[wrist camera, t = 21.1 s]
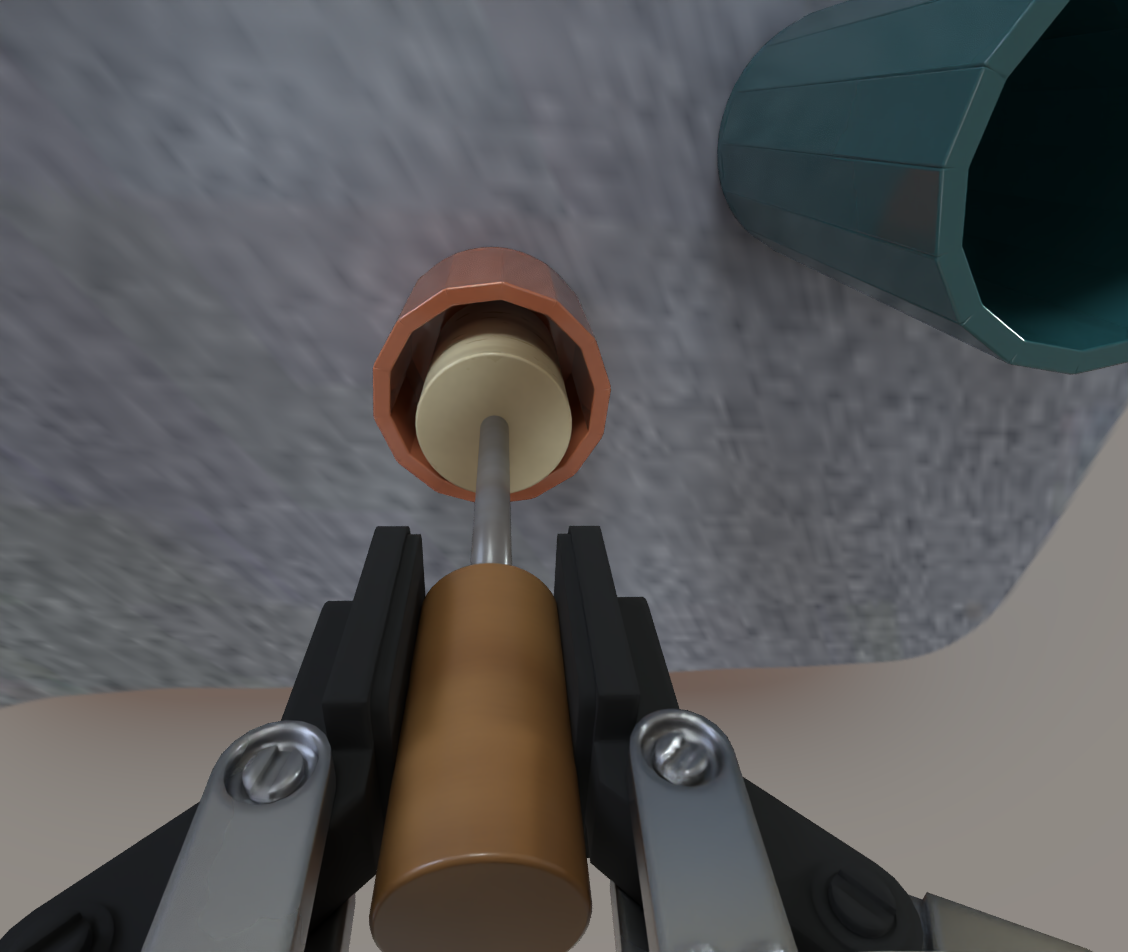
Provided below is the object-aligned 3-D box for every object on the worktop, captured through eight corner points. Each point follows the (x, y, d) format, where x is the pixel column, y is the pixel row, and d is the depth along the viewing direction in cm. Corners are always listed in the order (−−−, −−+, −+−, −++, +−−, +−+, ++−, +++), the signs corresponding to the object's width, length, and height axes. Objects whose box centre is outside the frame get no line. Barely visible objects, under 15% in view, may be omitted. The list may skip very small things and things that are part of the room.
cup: (673, 176, 23) (849, 235, 11) (820, -49, 20) (1247, -272, 8) (825, 291, 25) (1097, 436, 14) (974, 104, 22) (1468, 89, 11)
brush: (412, 379, 24) (204, 983, 7) (472, 274, 22) (384, 734, 6) (516, 436, 25) (546, 1050, 9) (580, 340, 24) (766, 866, 7)
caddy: (367, 374, 25) (332, 442, 20) (458, 204, 22) (444, 230, 17) (524, 457, 27) (530, 537, 22) (622, 311, 25) (655, 363, 19)
